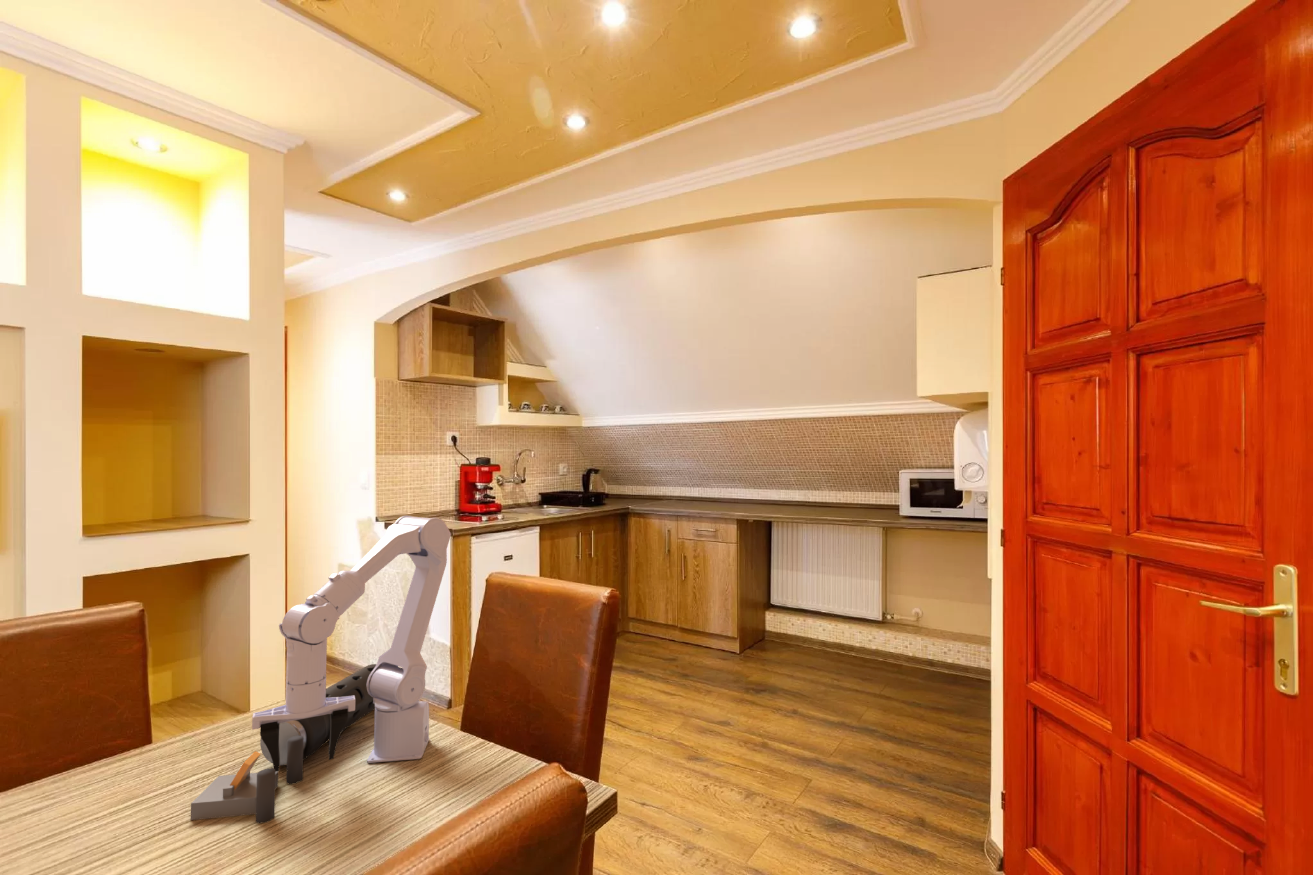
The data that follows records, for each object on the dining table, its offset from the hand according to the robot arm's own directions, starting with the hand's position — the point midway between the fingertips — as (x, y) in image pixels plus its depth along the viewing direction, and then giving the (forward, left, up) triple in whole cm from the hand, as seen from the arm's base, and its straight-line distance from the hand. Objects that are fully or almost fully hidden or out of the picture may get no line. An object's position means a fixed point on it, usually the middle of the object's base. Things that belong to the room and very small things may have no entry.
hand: (304, 762), depth 99 cm
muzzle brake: (+7, -24, -4) cm, 25 cm away
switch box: (+10, 0, -5) cm, 11 cm away
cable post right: (+3, -6, -5) cm, 8 cm away
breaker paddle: (+10, 0, -2) cm, 10 cm away
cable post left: (+3, +5, -5) cm, 9 cm away
